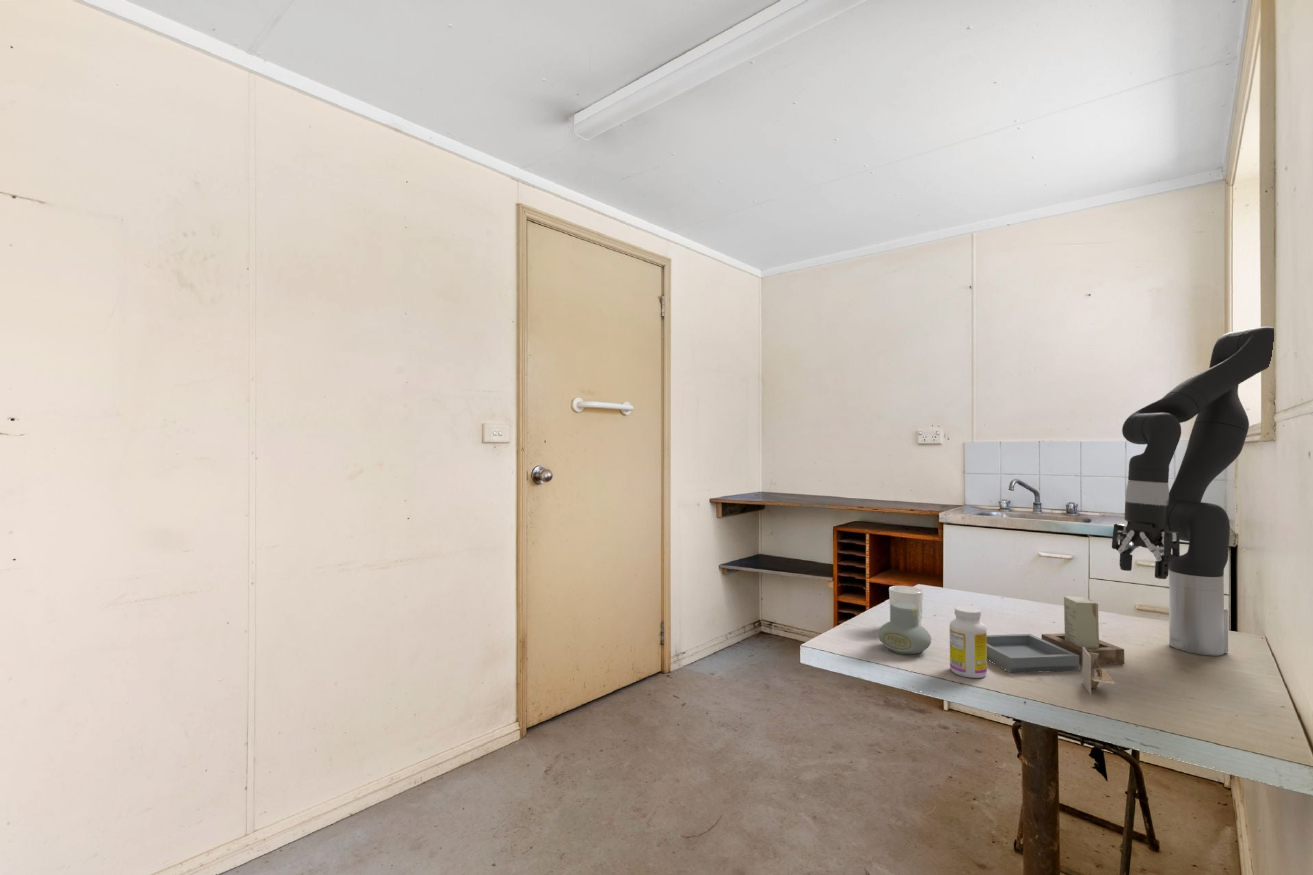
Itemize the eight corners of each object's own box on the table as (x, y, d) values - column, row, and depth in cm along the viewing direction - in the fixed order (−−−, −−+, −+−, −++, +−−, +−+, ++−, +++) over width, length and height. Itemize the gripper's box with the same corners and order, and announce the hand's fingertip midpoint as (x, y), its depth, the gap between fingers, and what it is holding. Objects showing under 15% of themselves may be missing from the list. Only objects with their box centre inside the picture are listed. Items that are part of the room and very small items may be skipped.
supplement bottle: (985, 670, 122) (985, 607, 123) (988, 681, 116) (988, 615, 117) (949, 664, 125) (949, 603, 125) (950, 676, 119) (949, 611, 119)
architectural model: (1104, 688, 115) (1103, 649, 115) (1114, 702, 108) (1113, 661, 108) (1082, 685, 116) (1082, 646, 116) (1091, 698, 110) (1091, 658, 110)
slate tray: (1029, 647, 136) (1029, 633, 136) (1079, 670, 122) (1079, 655, 122) (967, 649, 135) (967, 635, 135) (1010, 673, 121) (1010, 658, 121)
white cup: (925, 628, 150) (925, 588, 150) (920, 636, 143) (920, 594, 144) (892, 623, 154) (892, 584, 154) (886, 631, 148) (885, 590, 148)
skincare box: (1100, 661, 127) (1100, 603, 127) (1077, 659, 128) (1077, 602, 128) (1085, 651, 134) (1084, 596, 134) (1063, 649, 135) (1063, 595, 135)
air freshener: (936, 651, 133) (936, 606, 133) (922, 661, 127) (922, 614, 127) (887, 640, 141) (887, 597, 141) (872, 649, 135) (872, 604, 135)
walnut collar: (1082, 646, 137) (1082, 632, 137) (1124, 663, 126) (1124, 649, 126) (1041, 647, 136) (1041, 634, 136) (1080, 665, 125) (1080, 651, 125)
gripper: (1193, 506, 127) (1189, 582, 127) (1133, 499, 141) (1129, 568, 141) (1161, 504, 126) (1157, 581, 126) (1104, 498, 141) (1100, 567, 140)
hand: (1142, 574), depth 134 cm, fingers open, 8 cm apart
